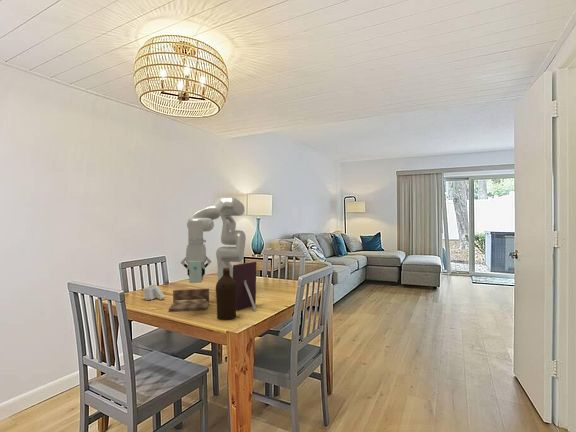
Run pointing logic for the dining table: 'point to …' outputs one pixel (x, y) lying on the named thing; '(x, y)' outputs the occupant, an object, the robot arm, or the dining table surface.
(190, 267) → the grey-green rectangular block
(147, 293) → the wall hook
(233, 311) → the olive oil
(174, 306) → the board
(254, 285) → the picture frame
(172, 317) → the dining table surface
